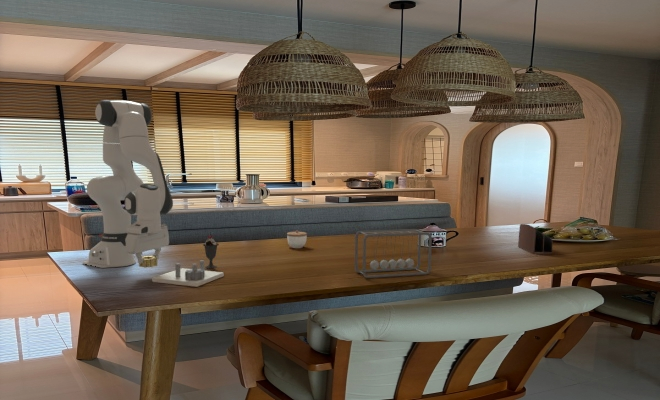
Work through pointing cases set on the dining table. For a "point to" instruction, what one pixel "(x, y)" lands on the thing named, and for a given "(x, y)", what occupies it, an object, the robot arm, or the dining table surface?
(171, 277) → the gear board
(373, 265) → the newton's cradle
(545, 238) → the letter holder
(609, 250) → the dining table surface
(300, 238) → the lidded jar
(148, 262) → the gear
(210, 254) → the sundae
